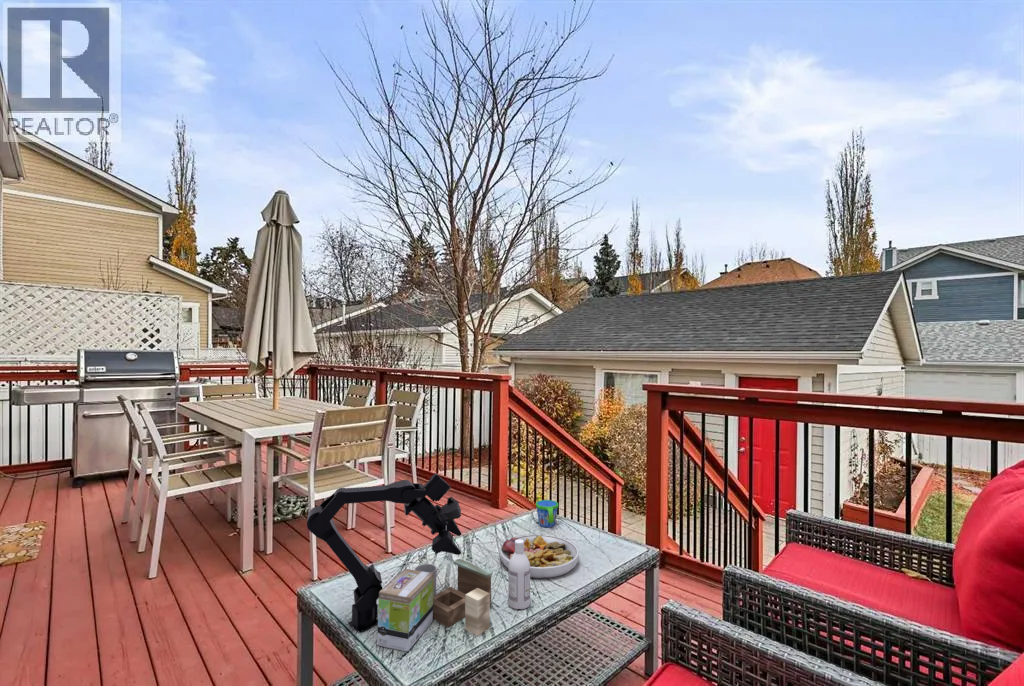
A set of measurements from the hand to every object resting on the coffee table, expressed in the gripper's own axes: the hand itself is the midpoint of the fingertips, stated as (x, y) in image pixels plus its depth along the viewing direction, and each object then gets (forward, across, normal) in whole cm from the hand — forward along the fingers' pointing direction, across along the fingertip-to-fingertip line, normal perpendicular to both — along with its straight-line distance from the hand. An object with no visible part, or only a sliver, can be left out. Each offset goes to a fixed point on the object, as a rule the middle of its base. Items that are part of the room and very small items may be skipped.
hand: (460, 544), depth 146 cm
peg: (+15, -18, +6) cm, 24 cm away
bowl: (+39, +22, -6) cm, 45 cm away
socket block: (+13, -7, +13) cm, 19 cm away
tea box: (+2, -18, +22) cm, 28 cm away
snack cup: (+52, +58, -7) cm, 78 cm away
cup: (+8, +3, +23) cm, 24 cm away
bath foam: (+26, -6, -2) cm, 27 cm away
